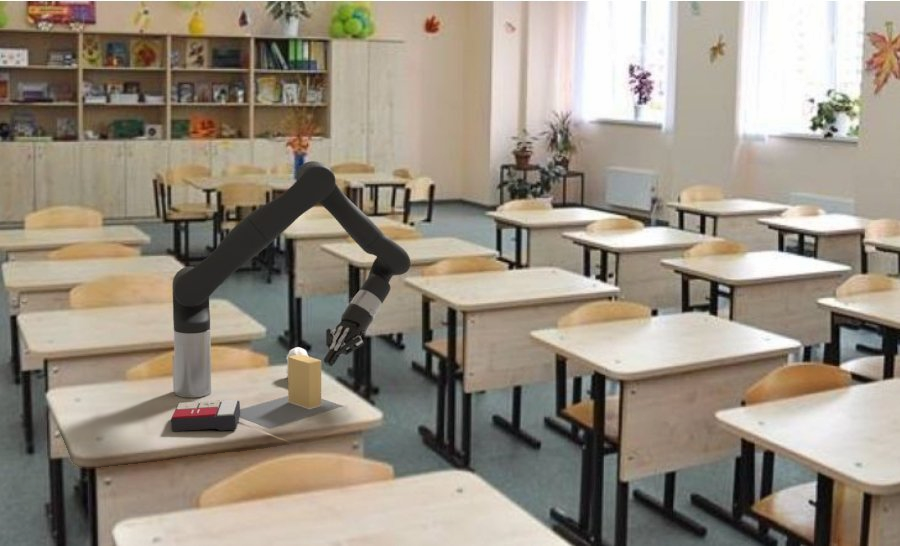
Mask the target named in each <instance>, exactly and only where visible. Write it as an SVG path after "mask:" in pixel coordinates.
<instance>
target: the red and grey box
mask: <svg viewBox="0 0 900 546" xmlns="http://www.w3.org/2000/svg"><path fill="white" fill-rule="evenodd" d="M240 406H241V405H240V400H237V399H229V400H227V399H226V400H222V401H221V400H220V399H219V400H204V401H187V402H179V403H178V404H177V406H176V407H175V410H174V412H173V414H172V416H171V418H170V426H171V432H183V431H186V432H187V431H197V430H198V431H199V430H215V429H217V430H219V431H220V432H221V431H234V430H236V429H237V427H238V424H239V421H240V409H241V407H240Z"/></svg>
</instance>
